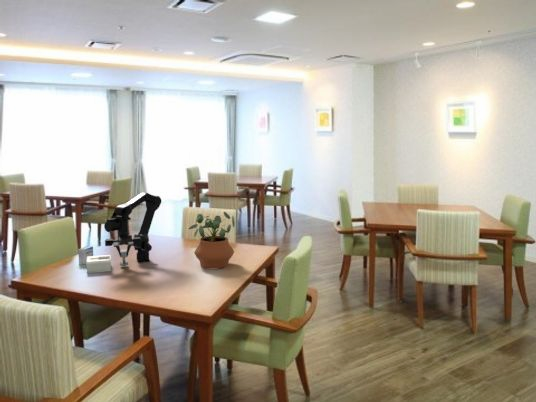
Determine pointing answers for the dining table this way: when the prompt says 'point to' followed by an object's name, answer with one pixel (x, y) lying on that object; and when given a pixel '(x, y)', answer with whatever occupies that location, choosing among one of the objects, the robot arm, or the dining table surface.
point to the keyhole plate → (98, 263)
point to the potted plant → (213, 243)
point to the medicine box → (84, 254)
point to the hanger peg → (123, 254)
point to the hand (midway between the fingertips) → (123, 256)
